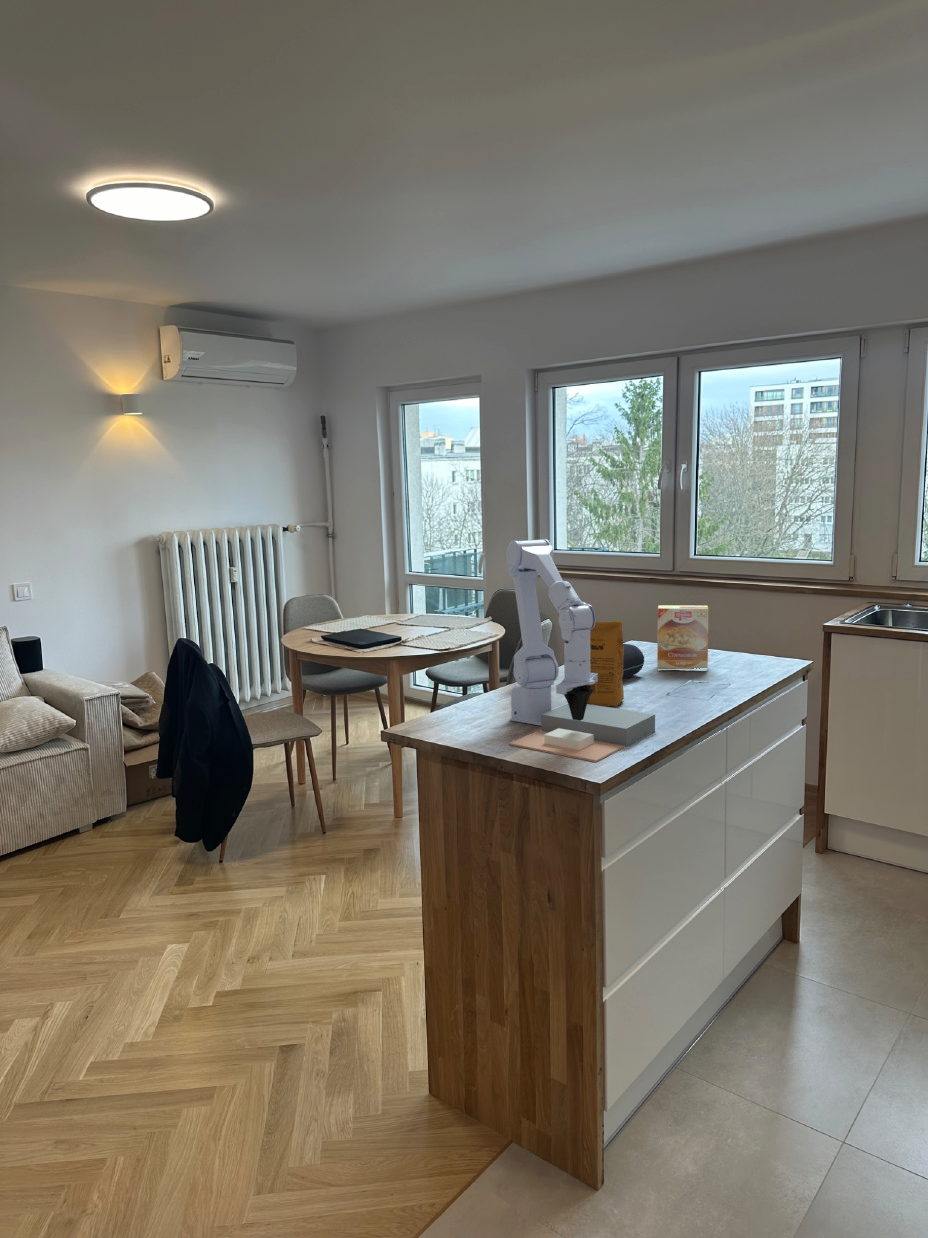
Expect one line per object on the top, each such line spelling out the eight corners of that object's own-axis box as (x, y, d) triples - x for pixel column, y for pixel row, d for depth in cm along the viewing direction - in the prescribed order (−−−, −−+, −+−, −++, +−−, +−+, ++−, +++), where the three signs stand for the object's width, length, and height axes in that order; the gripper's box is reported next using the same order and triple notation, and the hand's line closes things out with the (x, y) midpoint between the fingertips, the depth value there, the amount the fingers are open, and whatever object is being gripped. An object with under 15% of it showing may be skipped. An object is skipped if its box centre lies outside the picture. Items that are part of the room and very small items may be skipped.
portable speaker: (620, 672, 259) (620, 640, 258) (648, 676, 252) (648, 643, 251) (569, 687, 242) (568, 652, 240) (597, 692, 235) (597, 656, 233)
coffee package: (584, 695, 230) (583, 616, 227) (628, 700, 225) (628, 618, 221) (571, 704, 222) (570, 621, 218) (616, 709, 216) (616, 623, 213)
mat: (509, 744, 188) (509, 743, 188) (539, 732, 197) (539, 730, 197) (596, 762, 174) (596, 760, 174) (624, 747, 184) (624, 745, 184)
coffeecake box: (657, 671, 259) (657, 607, 256) (657, 666, 265) (657, 604, 262) (708, 672, 255) (709, 608, 252) (706, 667, 262) (707, 604, 259)
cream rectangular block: (558, 728, 191) (558, 736, 192) (544, 734, 187) (544, 743, 187) (593, 734, 186) (593, 743, 186) (579, 741, 181) (579, 750, 181)
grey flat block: (541, 731, 198) (541, 714, 197) (572, 717, 209) (572, 701, 208) (626, 746, 184) (626, 728, 184) (655, 731, 195) (655, 714, 195)
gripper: (575, 667, 179) (576, 729, 181) (609, 655, 190) (609, 714, 192) (547, 663, 183) (548, 724, 185) (582, 652, 194) (582, 710, 196)
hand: (577, 719), depth 189 cm, fingers closed
